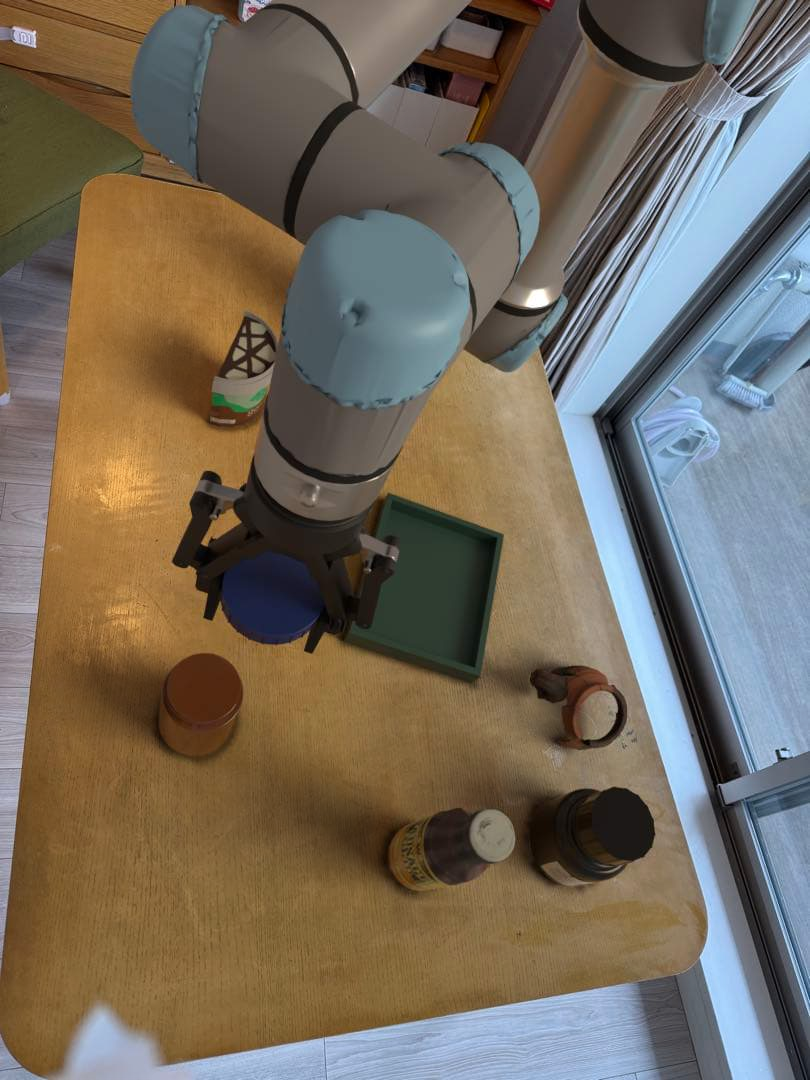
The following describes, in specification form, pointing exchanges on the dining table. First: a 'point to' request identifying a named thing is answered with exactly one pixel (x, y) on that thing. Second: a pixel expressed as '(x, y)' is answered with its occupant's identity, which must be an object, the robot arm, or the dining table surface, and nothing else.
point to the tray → (433, 591)
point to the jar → (199, 704)
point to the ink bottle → (590, 835)
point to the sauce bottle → (449, 848)
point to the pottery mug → (578, 701)
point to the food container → (244, 374)
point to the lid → (271, 599)
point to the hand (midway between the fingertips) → (263, 621)
